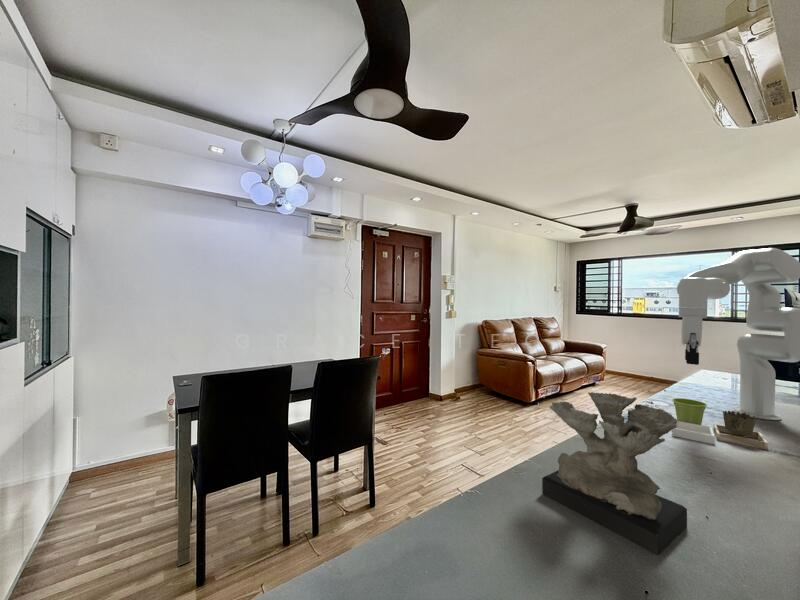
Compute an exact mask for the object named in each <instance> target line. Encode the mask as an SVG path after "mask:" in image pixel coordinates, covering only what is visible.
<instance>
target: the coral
mask: <svg viewBox="0 0 800 600" xmlns="http://www.w3.org/2000/svg"><path fill="white" fill-rule="evenodd" d="M587 394H588V396H589V397H590V399H591V400H592V402H593V403H594V405H595V407H596V408H597V411H598V413H599V414H597V413H588V412H586V411H583V410H579V409H576V408H575V406H574V405H573V403H570V402H568V401H560V402H558V401H556V402H554V401H552V402H551V405H549V408H550V409H551V410H552V411H553V412H554V413H555V414H556V415H557V416H558V417H559V418H561V420H562V421H563V423H565V424H566V425H567V426H568V427H569V428H571V429H572V430H574V431H575V432H576V433H577V434H578V435H579V436H580V437H581V438H582V439H583V442H584V444H585V445H586V451H582V450H577V451H575V452H574V453H571V454H570V455H569V454H568V453H565V452H561V453H560V455H559V456H558V458H557V463H558V469H557V470H556V471H553V472H551V473H549V474H547V475H545V476H544V477H542V478H541V480H542V482H541V483H542V484H541V485H542V486H541V487H542V488H541V489H542V491H541V492H542V494H543V495H544V496H546V497H548V498H549V499H550V498H551V500H554V501H556V502H558V503H560V504H562V505H563V506H565V507H567V508H569V509H571V510H573V511H575V512H576V513H579V514H580V515H582V516H583V517H586V518H587V519H589V520H591V521H593V522H595V523H597V524H599V525H601V526H603V527H604V528H606V529H608V530H610V531H611V532H613V533H615V534H617V535H619V536H622V537H623V538H625V539H627V540H629V541H630V542H632V543H634V544H636V545H638V546H640V547H642V548H644V549H646V550H647V551H649V552H651V553H653V554H655V555H658V556H659V555H660V554H661V553H662V552H663V551H664V550H665V549H666V548H667V547H668V546H670V544H671V543H672V542H673V541H674V540H675V539H676V538H677V537H679V536H680V534H682V533H683V532H684V531H685V530H686V528H687V527H688V509H687V508H686V507H685V506H684V505H682V504H679V503H677V502H674V501H673V500H672V501H671V500H669V499H667V498H664V497H662V496H660V495H657V492H658V490H660V489H661V487H660V486H659V485H658V484H657V483H656V482H654V481H653V479H652V478H651V477H650V476H649V474H647V473H644V472H643V471H642V470H640V469H639V468H638V460H637V458H636V456H638V455H643V454H645V453H647V452H649V451H650V450H652V449H653V448H654V447H655V446H657V445H659V444H662V443H664V442H666V439H665V438H664V437H663V436H664V435H666V434H669V432H671V431H672V429H675V428H676V427H677V425H676V423H677V418H675V417H674V416H673V415H672V414H671V413H670V412H667V411H666V410H664V409H662V408H656V407H653V406H648V405H645V404H635V405H634V409H633V408H632V409H628V411H627V420H626V422H625V417H624V416H623V411H624V410H625V409H626V408H627V407H629V406H630V405H633V403H634V402H636V400H637V397H635V396H634V397H628V396H622V395H620V394H617V393H606V392H605V393H603V392H593V391H592V392H587ZM599 415H600V417H601V420H602V421H601V420H598V417H599ZM597 420H598V422H597ZM598 423H599V424H600V426H601V427H602V429H603V435H604V436H603V438H601V437H599V436H598V435H597V434H596V430H597V427H598Z"/></svg>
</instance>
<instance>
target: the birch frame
mask: <svg viewBox="0 0 800 600" xmlns="http://www.w3.org/2000/svg"><path fill="white" fill-rule="evenodd" d="M712 430H713V433H714V436H715V438H716V440H717V441H723V442H727V443H732V444H735V445H736V444H737V445H741V446H746V447H751V448H757V449H762V450H763V449H764V450H766V451H768V449H769V442H768V441H767V440H766V438H765V437H764V435H763V434H762V433H761V432H760V431H755V430H753V433H752V434H751V435H749V436H746V437H747V438H742V437H737V436H731V432H729V431H728V430H727V429H726V427H725V425H721V424H716V423H713V428H712ZM725 433H726V434H725ZM727 433H728V434H727ZM748 437H749V438H748ZM752 438H753V439H752ZM756 439H757V440H756Z"/></svg>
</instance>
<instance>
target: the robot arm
mask: <svg viewBox="0 0 800 600" xmlns="http://www.w3.org/2000/svg"><path fill="white" fill-rule="evenodd" d="M799 279H800V261H799V260H797V259H796V258H795V257H793V256H792V255H791V254H789V253H788V252H785V251H784V250H782V249H779V248H776V247H768V248H758V249H747V250H746V249H745V250H742V251H741V250H740V251H738V252H736V253H734V254H732V255H731V256H729V258H726V259H725V260H724V261H722V262H720V264H715V265H712V266H708V267H707V268H703V269H700V270H697V271H694V272H692V273H689V274H688V275H687V276H685V277H682V278H681V279H680V280H679V282H678V283H677V286H676V292H677V295H678V299H679V300H678V318H682V320H681V341H680V343H681V345H682V346H685V347H686V348H685V349H684V353H685V354H684V360H685V361H686V362H685V363H686V364H687V365H695V366H698V365H700V352H699V347H700V346H701V345H702V337H703V319H707V318H708V300H721V299H723V298H725V297H727V296H728V295H729V293H730V291H731V286H730V285H733V284H737V283H739V282H742V283H743V285H744V286H745V288H746V290H747V292H748V295H749V297H748V306H747V311H746V326H747V327H748V329H750V330H753V331H758V332H759V331H760V332H772V333H773V332H774V333H783V334H784V335H775V334H767V333H766V334H765V333H745V334H743V335H741V336H739V337H738V339H737V340H736V341H737V342H736V347H737V352H738V357H739V369H740V370H739V371H740V372H739V406H736V407H733V411H734V412H735V414H736V413H737V412H739V413H740V414H741V413H746V414H747V415H748V414H750V417H752V418H753V416H755V417H756V419H760V420H767V421H780V420H781V419H782V416H781V415H780V414H779V413H776V378H777V377H776V375H777V374H776V370H775V368H774V367H773V365H772V364H771V363H770V362H769V361H776V362H777V361H778V362H784V363H798V362H800V308H799V307H789V306H788V307H787V306H786V307H785V306H781V299H782V295H781V293H780V292H779V290H777V288H775V287H774V286H773V285H772V283H773V284H774V283H792V282H795V281H798V280H799Z"/></svg>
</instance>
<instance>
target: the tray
mask: <svg viewBox="0 0 800 600" xmlns="http://www.w3.org/2000/svg"><path fill="white" fill-rule="evenodd" d="M676 425H677V427H676V428H675V429H672V430H671V431H672V433H671V435H672V437H677V438H682V439H686V440H691V441H697V442H701V443H705V444H711V445H716V444H715V440H716V439H715V438H716V436H715V433H714V430H713V428H712V426H707V425H702V424H701V425H698V424H692V423H687V422H681V421H677V423H676Z"/></svg>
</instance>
